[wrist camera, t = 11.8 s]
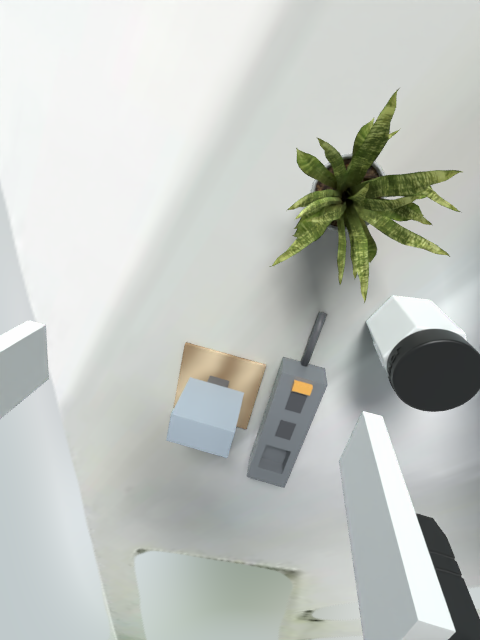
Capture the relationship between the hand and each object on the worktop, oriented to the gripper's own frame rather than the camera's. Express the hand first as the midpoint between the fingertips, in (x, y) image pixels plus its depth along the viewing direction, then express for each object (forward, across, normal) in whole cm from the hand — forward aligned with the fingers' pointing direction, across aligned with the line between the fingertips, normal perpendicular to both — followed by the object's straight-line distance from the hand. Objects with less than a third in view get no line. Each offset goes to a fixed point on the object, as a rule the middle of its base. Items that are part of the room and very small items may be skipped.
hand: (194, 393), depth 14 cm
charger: (+30, -2, -22) cm, 37 cm away
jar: (+31, +19, -6) cm, 37 cm away
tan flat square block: (+30, -2, -22) cm, 38 cm away
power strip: (+30, +9, -20) cm, 38 cm away
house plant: (+31, +7, +6) cm, 32 cm away
